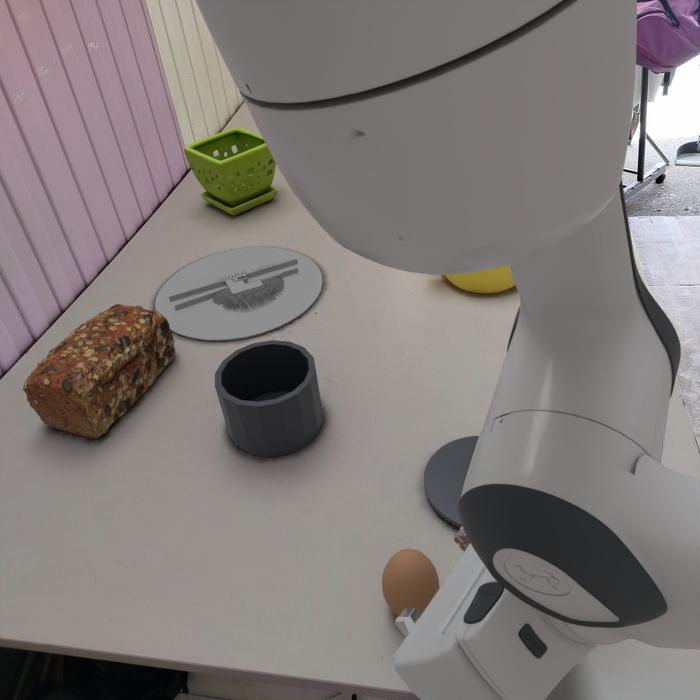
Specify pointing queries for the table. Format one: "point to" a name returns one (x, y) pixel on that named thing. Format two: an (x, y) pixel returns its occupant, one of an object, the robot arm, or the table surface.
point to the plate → (239, 293)
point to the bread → (100, 370)
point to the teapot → (484, 280)
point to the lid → (449, 476)
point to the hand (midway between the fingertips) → (434, 578)
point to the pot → (270, 397)
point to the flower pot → (233, 170)
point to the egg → (409, 581)
